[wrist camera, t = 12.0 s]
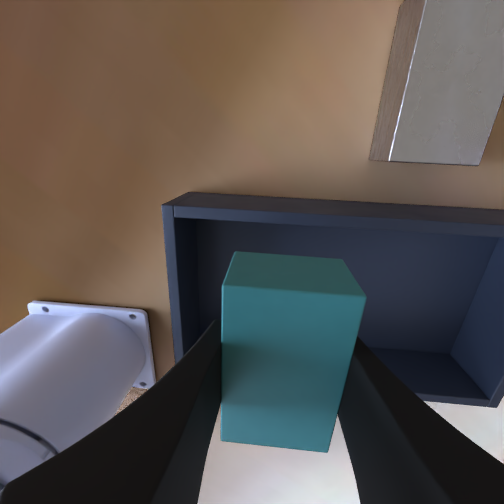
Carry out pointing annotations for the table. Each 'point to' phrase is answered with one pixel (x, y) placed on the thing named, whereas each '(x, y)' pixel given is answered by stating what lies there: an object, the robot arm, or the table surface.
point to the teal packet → (286, 348)
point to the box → (362, 278)
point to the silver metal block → (441, 83)
